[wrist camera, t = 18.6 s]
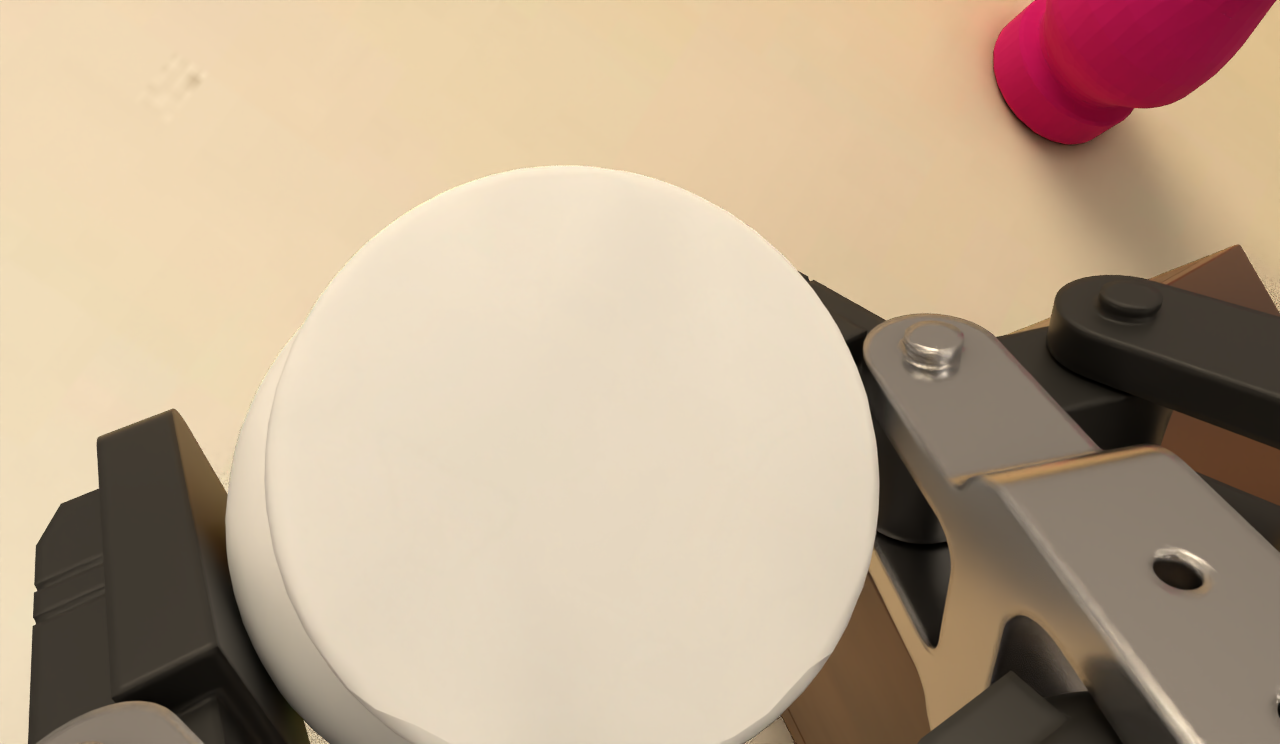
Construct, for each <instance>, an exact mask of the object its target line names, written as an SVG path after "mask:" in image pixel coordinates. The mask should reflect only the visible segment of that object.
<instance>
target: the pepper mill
mask: <svg viewBox="0 0 1280 744" xmlns="http://www.w3.org/2000/svg"><path fill="white" fill-rule="evenodd" d="M1275 1H1276V0H1035V1H1033V2H1032V3H1031V4H1030V5H1029V6H1028V7H1026V8H1025V9H1024V10H1023V11H1022V12H1021V13H1020V14H1019V15H1017V16H1016V17H1015V18H1014V19H1013V20H1012V21H1011V22H1010V23H1008V24H1007V25H1006V26H1005V27H1004V28H1003V30H1002V31H1001V33H1000V35H999V37H998V39H997V41H996V44H995V48H994V51H993V56H994V72H995V76H996V80H997V84H998V87H999V89H1000V91H1001V93H1002V95H1003V97H1004V99H1005V101H1006V103H1007V104H1008V105H1009V107H1010V108H1011V109H1012V111H1013V112H1014V113H1015V115H1016V116H1017V117H1018V118H1019V119H1020V120H1021V121H1022V122H1023V123H1024V124H1026V125H1027V126H1028V127H1029V128H1030V129H1031V130H1033V131H1034V132H1035V133H1037V134H1039V135H1041V136H1042V137H1044V138H1047V139H1049V140H1051V141H1054V142H1059V143H1063V144H1080V143H1085V142H1088V141H1090V140H1092V139H1094V138H1095V137H1097V136H1099V135H1100V134H1102V133H1103V132H1105V131H1107V130H1108V129H1110V128H1111V127H1113V126H1115V125H1116V124H1118V123H1120V122H1121V121H1123V120H1124V119H1125V118H1126V117H1127V116H1128V115H1130V114H1131V112H1132V110H1133V109H1134V108H1154V107H1160V106H1164V105H1168V104H1171V103H1174V102H1176V101H1178V100H1180V99H1182V98H1184V97H1186V96H1187V95H1188V94H1190V93H1191V92H1193V91H1194V90H1195V89H1197V88H1198V87H1199V86H1201V85H1202V84H1204V83H1205V82H1206V81H1208V80H1209V79H1210V78H1211V77H1213V76H1214V75H1215V74H1216V73H1217V72H1218V71H1219V70H1220V69H1221V68H1222V67H1223V66H1224V65H1225V64H1226V63H1227V62H1228V61H1229V60H1230V59H1231V58H1232V57H1233V56H1234V55H1235V54H1236V53H1237V51H1238V50H1239V49H1240V48H1241V47H1242V46H1243V44H1244V43H1245V42H1246V40H1247V39H1248V38H1249V36H1250V35H1251V34H1252V32H1253V31H1254V29H1255V28H1256V27H1257V25H1258V24H1259V23H1260V21H1261V20H1262V19H1263V17H1264V16H1265V15H1266V13H1267V12H1268V11H1269V9H1270V8H1271V6H1272V5H1273V4H1274V3H1275Z"/></svg>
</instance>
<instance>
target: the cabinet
mask: <svg viewBox="0 0 1280 744" xmlns="http://www.w3.org/2000/svg"><path fill="white" fill-rule="evenodd" d="M1147 280H1152V281H1156V282H1159V283H1163V284H1166V285H1170V286H1173V287H1177V288H1180V289H1184V290H1187V291H1191V292H1194V293H1198V294H1201V295H1205V296H1209V297H1212V298H1216V299H1219V300H1223V301H1226V302H1230V303H1233V304H1237V305H1240V306H1244V307H1247V308H1251V309H1254V310H1258V311H1261V312H1265V313H1269V314H1272V315H1276V316H1279V317H1280V313H1279V311H1278V310H1277V308H1276V306H1275V304H1274V303H1273V301H1272V299H1271V297H1270V296H1269V294H1268V292H1267V290H1266V289H1265V287H1264V285H1263V284H1262V282H1261V280H1260V278H1259V277H1258V275H1257V273H1256V271H1255V270H1254V268H1253V266H1252V265H1251V263H1250V261H1249V259H1248V258H1247V256H1246V254H1245V252H1244V251H1243V249H1242V247H1241V246H1240V245H1234V246H1231V247H1229V248H1226V249H1224V250H1221V251H1219V252H1216V253H1214V254H1212V255H1210V256H1206V257H1203V258H1201V259H1198V260H1196V261H1193V262H1191V263H1188V264H1185V265H1183V266H1180V267H1178V268H1175V269H1173V270H1170V271H1168V272H1165V273H1163V274H1160V275H1157V276H1155V277H1152V278H1150V279H1147ZM1050 319H1051V317H1050V318H1048V319H1045V320H1043V321H1040V322H1038V323H1035V324H1033V325H1030V326H1028V327H1025V328H1022V329H1020V330H1017V331H1015V332H1012V333H1010V334H1013V333H1018V332H1023V331H1027V330H1032V329H1037V328H1041V327H1046V326H1049V323H1050ZM1008 335H1009V334H1008ZM1161 447H1164V448H1166V449H1168V450H1170V451H1171V452H1173V453H1174V454H1176V455H1177V456H1178V457H1180V458H1181V459H1182V460H1183V461H1184V462H1185V463H1186V464H1187V465H1189V466H1190V467H1191V468H1192V469H1193V470H1194V471H1196V472H1199V473H1201V474H1203V475H1206V476H1208V477H1211V478H1213V479H1216V480H1218V481H1220V482H1223V483H1225V484H1228V485H1230V486H1233V487H1235V488H1237V489H1240V490H1242V491H1245V492H1247V493H1250V494H1252V495H1255V496H1257V497H1259V498H1262V499H1264V500H1267V501H1269V502H1272V503H1274V504H1276V505H1279V506H1280V450H1279V449H1276V448H1274V447H1271V446H1268V445H1266V444H1263V443H1260V442H1258V441H1255V440H1252V439H1250V438H1247V437H1244V436H1242V435H1239V434H1236V433H1233V432H1231V431H1228V430H1225V429H1223V428H1220V427H1217V426H1215V425H1212V424H1209V423H1207V422H1204V421H1201V420H1199V419H1196V418H1193V417H1191V416H1188V415H1185V414H1183V413H1180V412H1177V411H1175V410H1173V412H1172V415H1171V418H1170V421H1169V423H1168V426H1167V429H1166V432H1165V434H1164V437H1163V440H1162V443H1161ZM781 715H782V717H783V719H784V721H785V723H786V725H787V727H788V729H789V731H790V733H791V735H792V737H793V739H794V741H795V743H796V744H917V743H918V742H919V741H920V739H921V738H922V737H924V736H925V735H926V734H928V733H929V732H930V731H931V729H930V725H929V721H928V715H927V709H926V701H925V695H924V690H923V686H922V683H921V679H920V676H919V674H918V671H917V668H916V666H915V664H914V662H913V660H912V658H911V656H910V654H909V652H908V650H907V648H906V646H905V644H904V641H903V639H902V637H901V635H900V633H899V631H898V629H897V627H896V625H895V623H894V621H893V619H892V617H891V615H890V613H889V611H888V609H887V607H886V605H885V603H884V601H883V599H882V597H881V594H880V592H879V590H878V588H877V586H876V584H875V582H874V580H873V578H872V576H871V574H870V572H869V570H868V573H867V576H866V579H865V583H864V586H863V589H862V591H861V593H860V596H859V598H858V600H857V603H856V605H855V608H854V610H853V613H852V616H851V618H850V621H849V623H848V626H847V627H846V629H845V631H844V633H843V635H842V637H841V638H840V640H839V642H838V643H837V645H836V647H835V649H834V650H833V652H832V654H831V655H830V657H829V658H828V660H827V661H826V663H825V664H824V666H823V667H822V669H821V670H820V672H819V673H818V674H817V675H816V677H815V678H814V679H813V680H812V682H811V683H810V684H809V686H808V687H807V688H806V689H805V691H804V692H803V693H802V694H801V695H800V696H799V697H798V698H797V699H796V700H795V701H794V702H793V703H792V704H791V705H790V706H789V707H788V708H787V709H786V710H785V711H784V712H783V713H782V714H781Z"/></svg>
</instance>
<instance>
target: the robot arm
mask: <svg viewBox="0 0 1280 744" xmlns="http://www.w3.org/2000/svg"><path fill="white" fill-rule="evenodd" d="M798 272H799V271H798ZM799 273H800V274H801V276H802V277H803V278H804V279H805V280H806V281H807V283H808V284H809V285H810V286H811V287H812V289H813V290H814V291H815V293H816V294H817V296H818V297H819V299H820V300H821V301H822V303H823V304H824V306H825V307H826V309H827V310H828V312H829V313H830V315H831V316H832V318H833V320H834V321H835V323H836V324H837V326H838V328H839V330H840V332H841V334H842V336H843V338H844V340H845V342H846V344H847V346H848V348H849V350H850V353H851V355H852V357H853V360H854V362H855V364H856V367H857V369H858V372H859V374H860V377H861V380H862V383H863V386H864V389H865V392H866V395H867V398H868V403H869V408H870V413H871V418H872V423H873V428H874V433H875V437H876V445H877V454H878V466H879V510H878V519H877V529H876V536H875V541H874V547H873V552H872V557H871V562H870V566H869V569H868V570H869V572H870V574H871V576H872V578H873V580H874V582H875V584H876V586H877V588H878V590H879V592H880V594H881V597H882V599H883V601H884V603H885V605H886V607H887V609H888V611H889V613H890V615H891V617H892V619H893V621H894V623H895V625H896V627H897V629H898V631H899V633H900V635H901V637H902V639H903V641H904V644H905V646H906V648H907V650H908V652H909V654H910V656H911V658H912V660H913V662H914V664H915V666H916V668H917V671H918V674H919V676H920V679H921V683H922V686H923V690H924V695H925V701H926V709H927V715H928V721H929V725H930V729H931V731H930V732H929V733H928V734H926V735H925V736H924V737H922V738H921V739H920V741H919V742H918V743H917V744H1280V506H1279V505H1276V504H1274V503H1272V502H1269V501H1267V500H1264V499H1262V498H1259V497H1257V496H1255V495H1252V494H1250V493H1247V492H1245V491H1242V490H1240V489H1237V488H1235V487H1233V486H1230V485H1228V484H1225V483H1223V482H1220V481H1218V480H1216V479H1213V478H1211V477H1208V476H1206V475H1203V474H1201V473H1199V472H1196V471H1194V470H1193V469H1192V468H1191V467H1190V466H1189V465H1187V464H1186V463H1185V462H1184V461H1183V460H1182V459H1181V458H1180V457H1178V456H1177V455H1176V454H1174V453H1173V452H1171V451H1170V450H1168V449H1166V448H1164V447H1161V443H1162V440H1163V437H1164V434H1165V432H1166V429H1167V426H1168V423H1169V421H1170V418H1171V415H1172V412H1173V410H1175V411H1177V412H1180V413H1183V414H1185V415H1188V416H1191V417H1193V418H1196V419H1199V420H1201V421H1204V422H1207V423H1209V424H1212V425H1215V426H1217V427H1220V428H1223V429H1225V430H1228V431H1231V432H1233V433H1236V434H1239V435H1242V436H1244V437H1247V438H1250V439H1252V440H1255V441H1258V442H1260V443H1263V444H1266V445H1268V446H1271V447H1274V448H1276V449H1279V450H1280V317H1279V316H1276V315H1272V314H1269V313H1265V312H1261V311H1258V310H1254V309H1251V308H1247V307H1244V306H1240V305H1237V304H1233V303H1230V302H1226V301H1223V300H1219V299H1216V298H1212V297H1209V296H1205V295H1201V294H1198V293H1194V292H1191V291H1187V290H1184V289H1180V288H1177V287H1173V286H1170V285H1166V284H1163V283H1159V282H1156V281H1152V280H1147V279H1143V278H1138V277H1131V276H1121V275H1100V276H1091V277H1085V278H1081V279H1078V280H1075V281H1072V282H1070V283H1068V284H1066V285H1065V286H1063V287H1062V288H1061V289H1060V290H1059V291H1058V292H1057V295H1056V297H1055V301H1054V306H1053V310H1052V314H1051V319H1050V323H1049V326H1046V327H1041V328H1037V329H1032V330H1027V331H1023V332H1018V333H1013V334H1009V335H1004V336H999V337H995V336H994V335H993V334H991V333H990V332H989V331H987V330H986V329H984V328H983V327H981V326H979V325H977V324H975V323H973V322H970V321H967V320H964V319H961V318H957V317H953V316H948V315H941V314H911V315H904V316H900V317H895V318H892V319H890V320H887V321H886V320H884V319H882V318H881V317H879V316H877V315H875V314H873V313H872V312H870V311H868V310H866V309H865V308H863V307H861V306H859V305H858V304H856V303H854V302H852V301H850V300H849V299H847V298H845V297H843V296H842V295H840V294H838V293H836V292H834V291H833V290H831V289H829V288H827V287H826V286H824V285H822V284H820V283H818V282H817V281H815V280H813V281H809V279H808V276H806V275H804V274H802V273H801V272H799ZM97 458H98V476H99V489H97V490H94V491H92V492H89V493H87V494H84V495H82V496H79V497H77V498H74V499H72V500H69V501H67V502H64V503H62V504H61V505H60V506H59V508H58V510H57V511H56V513H55V515H54V516H53V518H52V520H51V522H50V523H49V525H48V527H47V528H46V530H45V532H44V533H43V535H42V537H41V538H40V540H39V542H38V544H37V545H36V558H35V583H34V585H35V586H36V588H37V592H34V608H33V618H34V620H35V622H36V625H34V626H33V633H32V658H31V683H30V708H29V733H28V744H310V742H309V738H308V735H307V731H306V727H305V724H304V720H303V718H302V717H301V716H300V715H299V714H298V713H297V712H296V711H295V710H294V709H293V708H292V707H291V706H290V705H289V703H288V702H287V701H286V699H285V698H284V697H283V696H282V694H281V693H280V692H279V690H278V689H277V687H276V685H275V684H274V682H273V680H272V679H271V677H270V676H269V674H268V672H267V671H266V669H265V667H264V666H263V664H262V663H261V661H260V659H259V657H258V655H257V653H256V651H255V649H254V647H253V645H252V643H251V640H250V638H249V636H248V633H247V631H246V629H245V626H244V624H243V621H242V618H241V615H240V612H239V608H238V605H237V602H236V599H235V595H234V591H233V586H232V581H231V576H230V571H229V567H228V559H227V550H226V525H225V516H226V506H227V496H228V494H227V493H226V491H225V489H224V487H223V486H222V484H221V482H220V481H219V479H218V477H217V475H216V474H215V472H214V470H213V468H212V467H211V465H210V463H209V462H208V460H207V458H206V456H205V455H204V453H203V451H202V450H201V448H200V446H199V444H198V443H197V441H196V439H195V438H194V436H193V434H192V432H191V431H190V429H189V427H188V426H187V424H186V422H185V421H184V419H183V418H182V416H181V415H180V414H179V413H178V411H177V410H175V409H171V410H168V411H165V412H163V413H160V414H158V415H155V416H152V417H150V418H147V419H144V420H142V421H139V422H136V423H134V424H131V425H129V426H126V427H123V428H121V429H118V430H115V431H113V432H110V433H107V434H105V435H102V436H100V437H98V439H97Z"/></svg>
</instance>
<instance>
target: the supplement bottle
mask: <svg viewBox="0 0 1280 744" xmlns="http://www.w3.org/2000/svg"><path fill="white" fill-rule="evenodd" d="M878 510H879V466H878V454H877V445H876V437H875V433H874V428H873V423H872V418H871V413H870V408H869V403H868V398H867V395H866V392H865V389H864V386H863V383H862V380H861V377H860V374H859V372H858V369H857V367H856V364H855V362H854V360H853V357H852V355H851V353H850V350H849V348H848V346H847V344H846V342H845V340H844V338H843V336H842V334H841V332H840V330H839V328H838V326H837V324H836V323H835V321H834V320H833V318H832V316H831V315H830V313H829V312H828V310H827V309H826V307H825V306H824V304H823V303H822V301H821V300H820V299H819V297H818V296H817V294H816V293H815V291H814V290H813V289H812V287H811V286H810V285H809V284H808V283H807V281H806V280H805V279H804V278H803V277H802V276H801V274H800V273H799V272H798V271H797V270H796V269H795V268H794V266H793V265H792V264H791V263H790V262H789V261H788V260H787V259H786V257H785V256H784V255H783V254H782V253H780V252H779V251H778V250H777V249H776V248H775V247H774V246H772V245H771V244H770V243H769V242H768V241H767V240H765V239H764V238H763V237H762V236H761V235H760V234H759V233H757V232H756V231H755V230H754V229H752V228H751V227H749V226H748V225H747V224H745V223H744V222H742V221H741V220H739V219H738V218H737V217H735V216H734V215H732V214H731V213H730V212H728V211H726V210H724V209H723V208H721V207H719V206H717V205H715V204H713V203H711V202H709V201H707V200H705V199H704V198H702V197H700V196H698V195H696V194H694V193H691V192H689V191H687V190H685V189H683V188H680V187H678V186H675V185H672V184H669V183H667V182H664V181H661V180H658V179H655V178H651V177H648V176H645V175H642V174H638V173H632V172H626V171H620V170H613V169H606V168H599V167H592V166H543V167H531V168H520V169H515V170H510V171H506V172H501V173H496V174H492V175H488V176H485V177H482V178H479V179H476V180H473V181H470V182H468V183H465V184H462V185H459V186H456V187H454V188H452V189H450V190H447V191H445V192H443V193H441V194H439V195H437V196H435V197H433V198H431V199H430V200H428V201H426V202H424V203H422V204H420V205H418V206H417V207H415V208H413V209H411V210H410V211H408V212H406V213H405V214H403V215H402V216H400V217H399V218H397V219H396V220H394V221H393V222H392V223H390V224H389V225H388V226H387V227H385V228H384V229H383V230H381V231H380V232H379V233H378V234H376V235H375V236H374V237H372V238H371V239H370V240H369V241H368V242H367V243H365V244H364V245H363V246H362V247H361V248H360V249H359V250H358V251H357V252H356V253H355V254H354V255H353V256H352V257H351V258H350V260H349V261H348V262H347V263H346V264H345V265H344V266H343V267H342V269H341V270H340V271H339V272H338V273H337V274H336V275H335V276H334V278H333V279H332V280H331V282H330V283H329V284H328V286H327V287H326V288H325V290H324V291H323V292H322V294H321V295H320V296H319V298H318V299H317V301H316V302H315V304H314V306H313V307H312V309H311V310H310V312H309V314H308V315H307V317H306V319H305V321H304V323H303V324H302V325H301V326H300V328H299V329H298V330H297V331H296V332H295V333H294V335H293V336H292V337H291V338H290V340H289V341H288V342H287V343H286V344H285V346H284V347H283V348H282V349H281V351H280V352H279V354H278V355H277V357H276V358H275V360H274V361H273V363H272V364H271V366H270V367H269V369H268V371H267V373H266V374H265V376H264V378H263V380H262V382H261V383H260V385H259V387H258V389H257V391H256V393H255V395H254V398H253V400H252V402H251V404H250V407H249V409H248V412H247V414H246V416H245V419H244V421H243V424H242V426H241V429H240V432H239V436H238V439H237V443H236V446H235V451H234V456H233V461H232V466H231V472H230V479H229V487H228V496H227V506H226V516H225V525H226V550H227V559H228V567H229V571H230V576H231V581H232V586H233V591H234V595H235V599H236V602H237V605H238V608H239V612H240V615H241V618H242V621H243V624H244V626H245V629H246V631H247V633H248V636H249V638H250V640H251V643H252V645H253V647H254V649H255V651H256V653H257V655H258V657H259V659H260V661H261V663H262V664H263V666H264V667H265V669H266V671H267V672H268V674H269V676H270V677H271V679H272V680H273V682H274V684H275V685H276V687H277V689H278V690H279V692H280V693H281V694H282V696H283V697H284V698H285V699H286V701H287V702H288V703H289V705H290V706H291V707H292V708H293V709H294V710H295V711H296V712H297V713H298V714H299V715H300V716H301V717H302V718H303V720H304V721H305V722H306V723H307V724H308V725H309V726H310V727H311V728H312V729H313V730H314V731H315V732H316V733H318V734H319V735H320V736H321V737H322V738H324V739H325V740H326V741H327V742H328V743H330V744H744V743H746V742H747V741H749V740H750V739H752V738H754V737H755V736H756V735H757V734H759V733H760V732H761V731H762V730H764V729H765V728H766V727H767V726H769V725H770V724H771V723H772V722H774V721H775V720H776V719H777V718H778V717H779V716H780V715H781V714H782V713H783V712H784V711H785V710H786V709H787V708H788V707H789V706H790V705H791V704H792V703H793V702H794V701H795V700H796V699H797V698H798V697H799V696H800V695H801V694H802V693H803V692H804V691H805V689H806V688H807V687H808V686H809V684H810V683H811V682H812V680H813V679H814V678H815V677H816V675H817V674H818V673H819V672H820V670H821V669H822V667H823V666H824V664H825V663H826V661H827V660H828V658H829V657H830V655H831V654H832V652H833V650H834V649H835V647H836V645H837V643H838V642H839V640H840V638H841V637H842V635H843V633H844V631H845V629H846V627H847V626H848V623H849V621H850V618H851V616H852V613H853V610H854V608H855V605H856V603H857V600H858V598H859V596H860V593H861V591H862V589H863V586H864V583H865V579H866V576H867V573H868V569H869V566H870V562H871V557H872V552H873V547H874V541H875V536H876V529H877V519H878Z"/></svg>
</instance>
